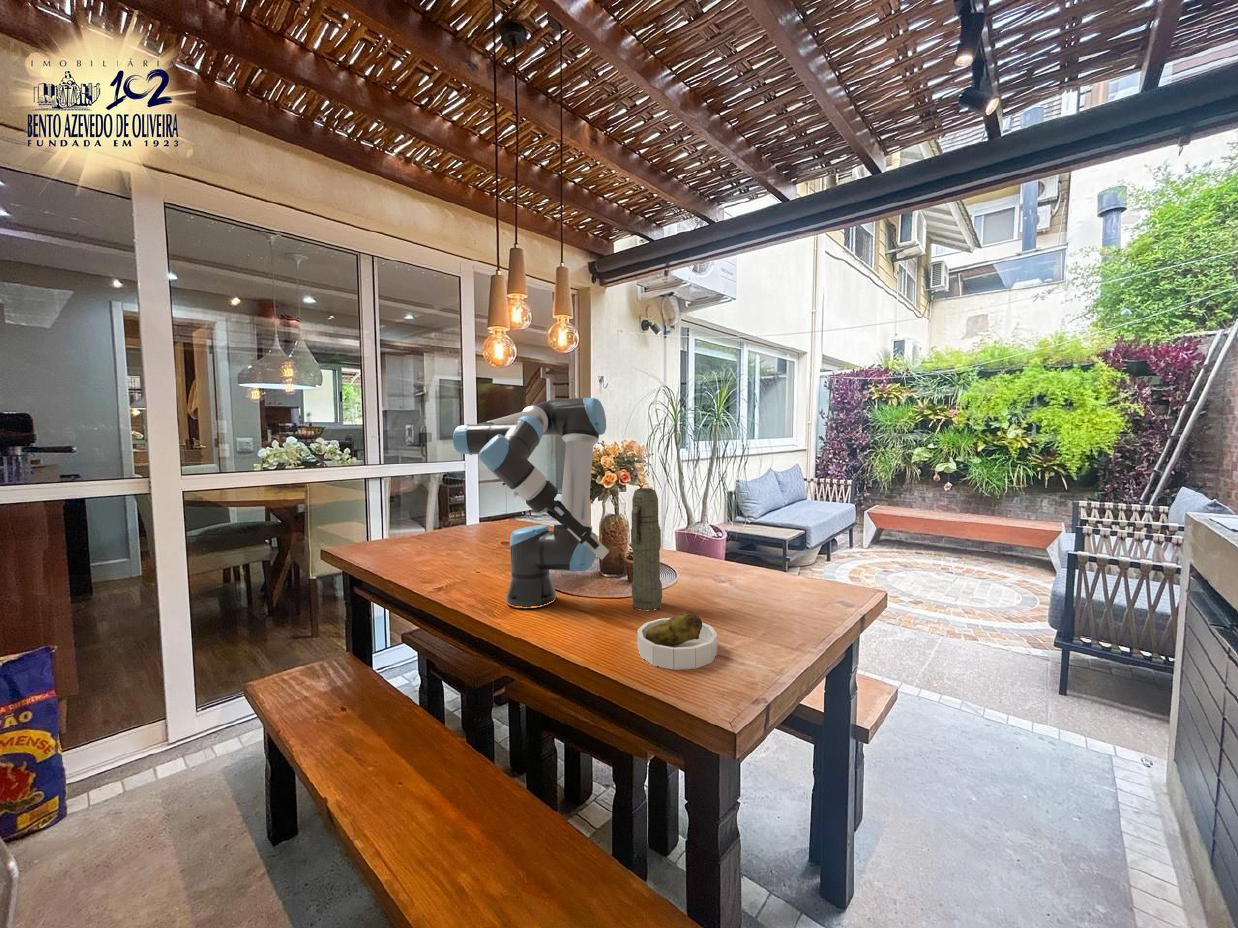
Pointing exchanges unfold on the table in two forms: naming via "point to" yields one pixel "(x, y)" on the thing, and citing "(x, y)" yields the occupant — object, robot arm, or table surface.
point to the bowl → (678, 649)
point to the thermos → (646, 550)
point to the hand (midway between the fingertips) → (596, 548)
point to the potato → (676, 630)
